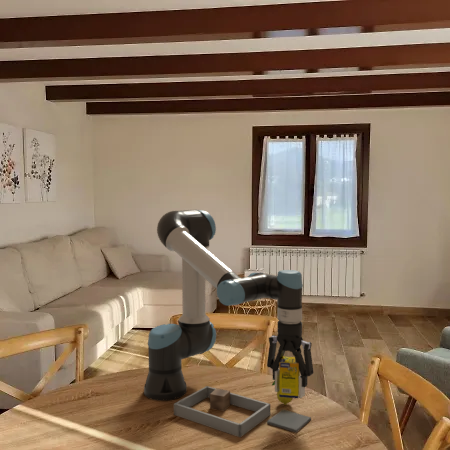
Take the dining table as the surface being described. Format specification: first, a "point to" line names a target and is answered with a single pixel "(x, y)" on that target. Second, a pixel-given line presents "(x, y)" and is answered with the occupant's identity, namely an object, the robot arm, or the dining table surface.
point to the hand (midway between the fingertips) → (289, 393)
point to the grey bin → (216, 422)
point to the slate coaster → (289, 420)
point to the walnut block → (220, 399)
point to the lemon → (283, 398)
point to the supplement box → (288, 377)
